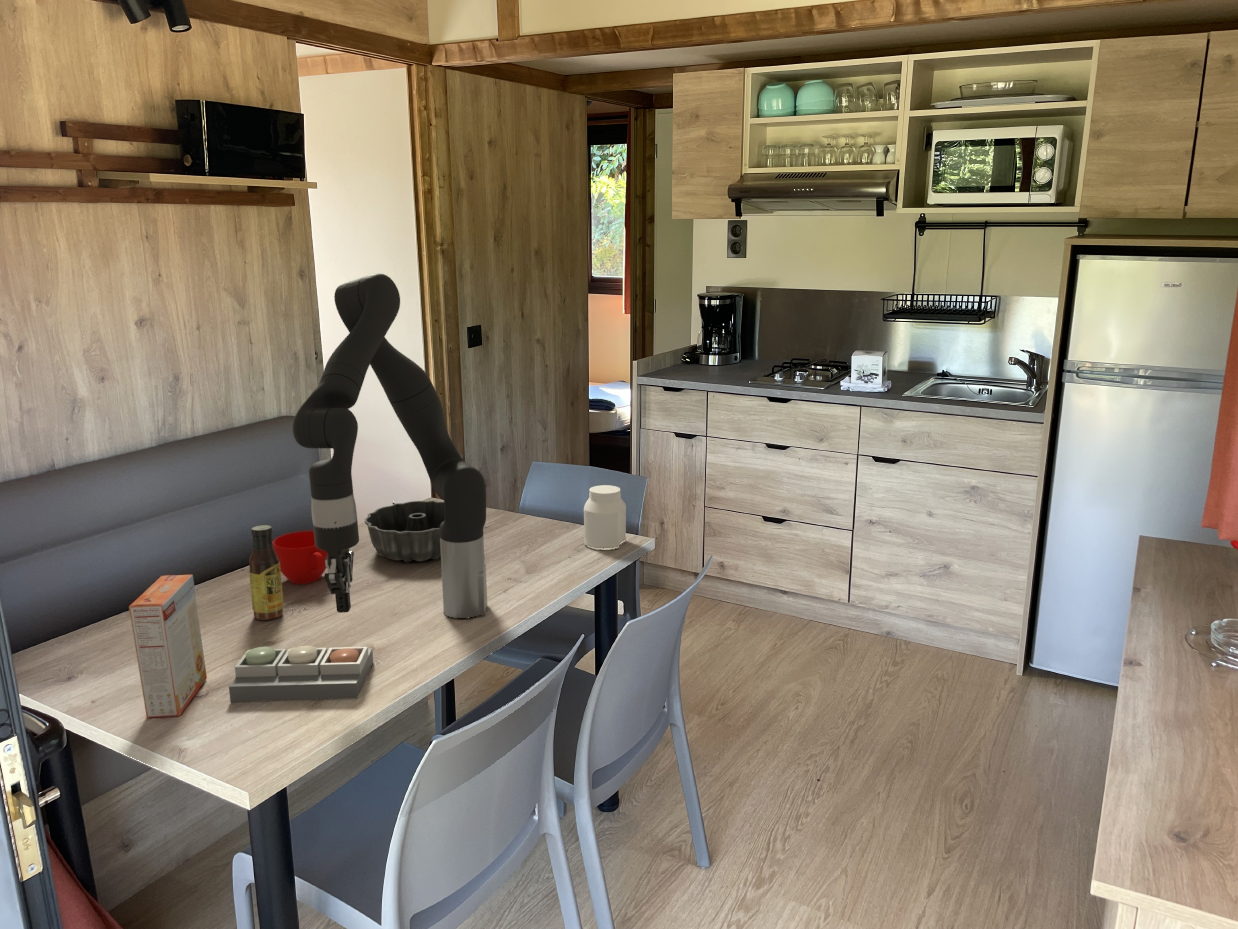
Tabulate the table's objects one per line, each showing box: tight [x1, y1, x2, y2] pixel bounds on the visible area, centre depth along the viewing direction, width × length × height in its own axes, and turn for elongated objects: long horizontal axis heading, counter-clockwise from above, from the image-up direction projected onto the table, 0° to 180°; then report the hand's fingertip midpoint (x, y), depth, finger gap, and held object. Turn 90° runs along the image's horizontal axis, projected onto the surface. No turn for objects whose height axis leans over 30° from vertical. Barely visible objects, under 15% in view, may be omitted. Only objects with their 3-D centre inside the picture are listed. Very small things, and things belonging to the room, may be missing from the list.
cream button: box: [288, 645, 317, 664], centre depth 167 cm, size 5×5×2 cm
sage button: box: [245, 646, 276, 665], centre depth 167 cm, size 5×5×2 cm
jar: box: [583, 484, 627, 549], centre depth 241 cm, size 12×10×15 cm
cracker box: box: [128, 574, 207, 719], centre depth 160 cm, size 14×6×21 cm, turn 5°
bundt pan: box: [364, 499, 445, 563], centre depth 236 cm, size 26×26×10 cm
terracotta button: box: [330, 648, 359, 663], centre depth 168 cm, size 5×5×2 cm
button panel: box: [228, 646, 374, 703], centre depth 168 cm, size 22×14×5 cm, turn 93°
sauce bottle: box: [248, 524, 284, 621], centre depth 195 cm, size 7×6×20 cm
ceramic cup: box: [272, 530, 328, 585], centre depth 216 cm, size 13×17×10 cm
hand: (344, 610), depth 165 cm, fingers closed
